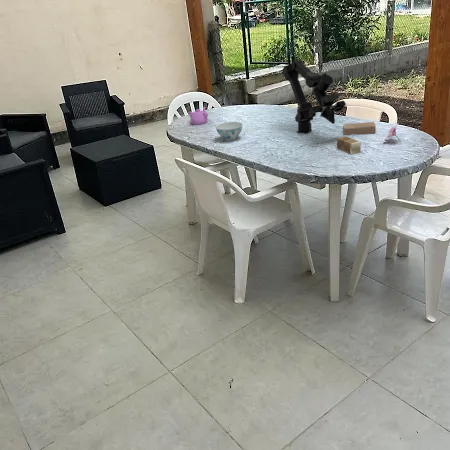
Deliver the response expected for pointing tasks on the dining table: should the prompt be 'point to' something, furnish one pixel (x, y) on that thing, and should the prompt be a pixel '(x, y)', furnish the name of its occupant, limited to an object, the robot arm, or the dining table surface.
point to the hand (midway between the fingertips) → (333, 123)
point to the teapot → (198, 117)
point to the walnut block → (349, 145)
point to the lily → (392, 133)
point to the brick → (359, 128)
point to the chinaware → (229, 130)
